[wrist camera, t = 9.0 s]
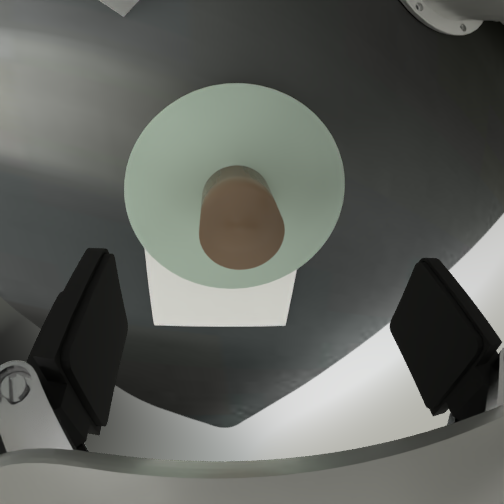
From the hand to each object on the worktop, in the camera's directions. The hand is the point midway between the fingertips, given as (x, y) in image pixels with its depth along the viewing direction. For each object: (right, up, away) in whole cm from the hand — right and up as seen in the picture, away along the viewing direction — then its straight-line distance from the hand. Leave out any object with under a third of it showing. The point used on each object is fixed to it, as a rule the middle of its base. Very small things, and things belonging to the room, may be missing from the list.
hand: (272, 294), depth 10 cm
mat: (-4, 0, +23) cm, 23 cm away
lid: (-2, +5, +8) cm, 10 cm away
